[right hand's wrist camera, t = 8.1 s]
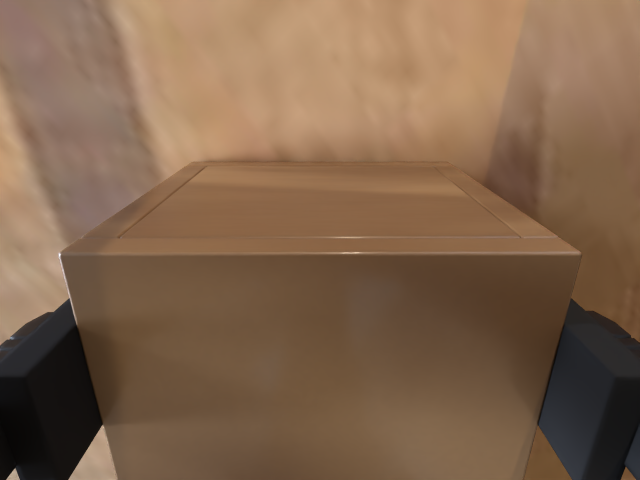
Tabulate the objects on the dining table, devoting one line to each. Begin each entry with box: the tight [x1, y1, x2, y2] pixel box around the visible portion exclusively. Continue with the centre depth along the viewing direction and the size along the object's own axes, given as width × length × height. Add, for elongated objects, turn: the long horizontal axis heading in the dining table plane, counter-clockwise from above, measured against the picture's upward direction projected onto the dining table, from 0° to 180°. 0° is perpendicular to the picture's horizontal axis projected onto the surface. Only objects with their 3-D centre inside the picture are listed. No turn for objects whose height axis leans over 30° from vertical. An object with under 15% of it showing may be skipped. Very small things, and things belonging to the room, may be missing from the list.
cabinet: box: [59, 162, 582, 480], centre depth 15 cm, size 18×10×9 cm, turn 0°
